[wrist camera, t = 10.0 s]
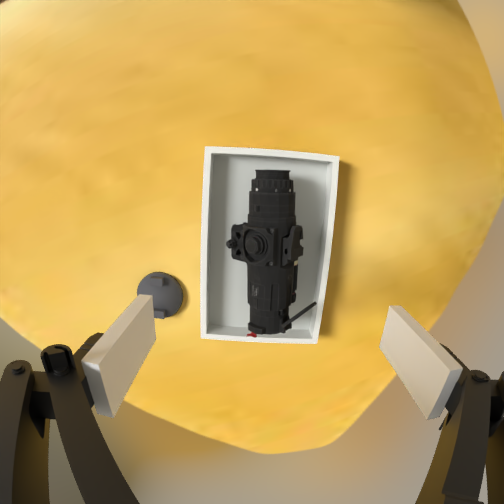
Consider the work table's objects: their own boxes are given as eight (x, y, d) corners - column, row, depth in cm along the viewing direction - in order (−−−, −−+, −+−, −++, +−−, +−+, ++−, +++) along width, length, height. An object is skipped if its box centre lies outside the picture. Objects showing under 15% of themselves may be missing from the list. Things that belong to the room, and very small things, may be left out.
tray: (209, 149, 33) (205, 146, 30) (332, 158, 33) (339, 156, 30) (204, 326, 38) (200, 338, 35) (312, 332, 38) (317, 343, 35)
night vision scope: (264, 170, 35) (341, 173, 29) (262, 307, 40) (328, 329, 33) (217, 169, 29) (302, 169, 23) (220, 328, 34) (292, 360, 28)
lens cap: (139, 269, 37) (133, 274, 35) (183, 272, 37) (179, 278, 35) (141, 311, 38) (137, 317, 36) (184, 315, 38) (180, 322, 36)
